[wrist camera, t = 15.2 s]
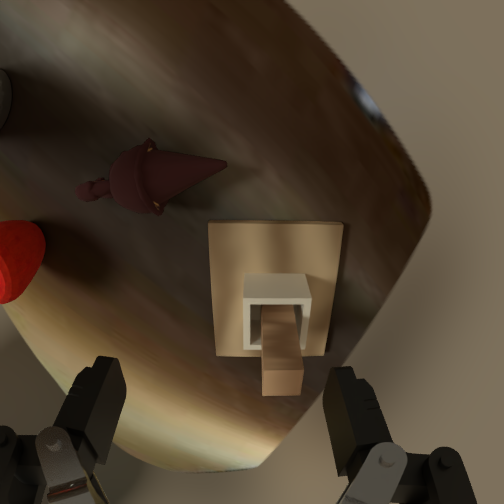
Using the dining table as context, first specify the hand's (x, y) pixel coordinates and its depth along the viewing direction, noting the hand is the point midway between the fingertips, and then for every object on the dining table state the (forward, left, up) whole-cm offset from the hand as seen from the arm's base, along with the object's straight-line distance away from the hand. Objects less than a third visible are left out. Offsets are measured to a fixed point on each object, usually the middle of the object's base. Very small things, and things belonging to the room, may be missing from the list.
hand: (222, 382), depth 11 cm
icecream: (-9, +3, -24) cm, 26 cm away
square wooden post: (+4, -11, -22) cm, 25 cm away
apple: (-28, -4, -24) cm, 37 cm away
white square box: (+3, -11, -23) cm, 26 cm away
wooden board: (+3, -11, -24) cm, 26 cm away
